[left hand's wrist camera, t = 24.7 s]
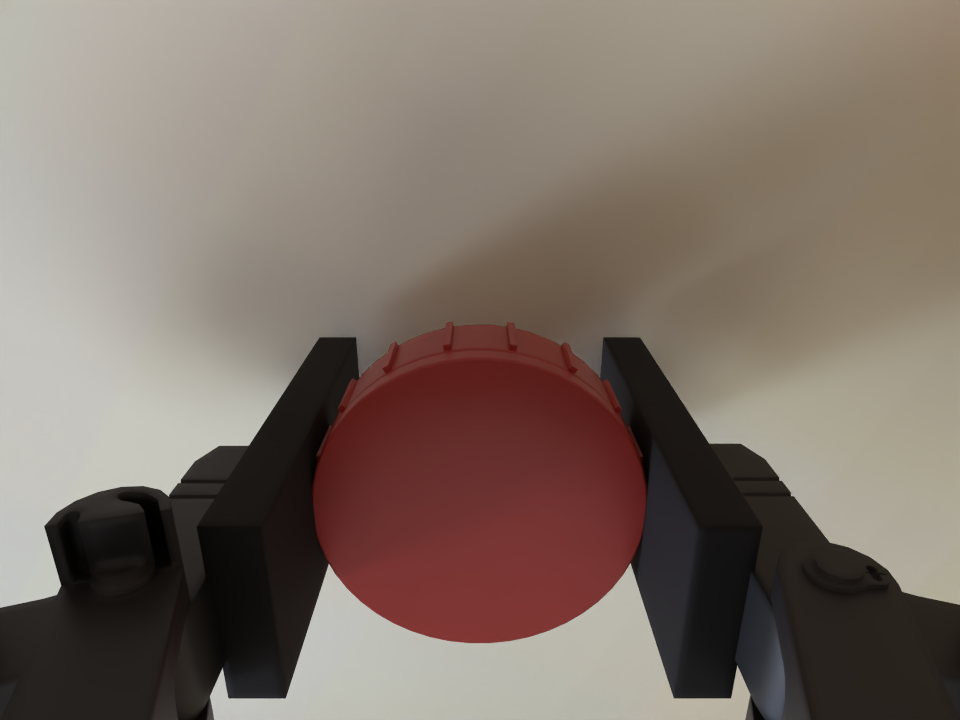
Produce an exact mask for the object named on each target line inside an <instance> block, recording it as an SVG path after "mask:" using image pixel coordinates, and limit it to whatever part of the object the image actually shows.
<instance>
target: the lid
mask: <svg viewBox="0 0 960 720" xmlns="http://www.w3.org/2000/svg"><path fill="white" fill-rule="evenodd" d="M337 410H339V412H338V415H337V417H336V419H335V421H334V424H333V426H331V425H330V426H329V428H328V430H327V432H326V435H325V437H324V439H323V441H322V443H321V446H320V448H319V450H318V452H317V455H316V459H317V461H318V462H317V465H316V469H315V474H314V478H313V483H312V496H313V507H314V516H315V525H316V533H317V538H318V541H319V543H320V546H321V548H322V550H323V553H324V555H325V557H326V559H327V561H328V563H329V564H330V566H331V567H332V569H333V571H334V572H335V574H336V575H337V576H338V578H339V579H340V580H341V581H342V583H343V584H344V585H345V586H346V588H347V589H348V590H349V591H350V592H351V593H352V594H353V595H355V596H356V597H357V598H358V599H359V600H360V601H361V602H362V603H363V604H365V605H366V606H367V607H369V608H370V609H371V610H373V611H374V612H375V613H377V614H379V615H380V616H382V617H384V618H385V619H387V620H389V621H391V622H392V623H394V624H397V625H399V626H401V627H403V628H406V629H408V630H410V631H413V632H416V633H419V634H422V635H426V636H429V637H433V638H438V639H442V640H447V641H454V642H464V643H495V642H505V641H512V640H517V639H522V638H526V637H530V636H534V635H537V634H540V633H543V632H546V631H549V630H551V629H553V628H556V627H558V626H560V625H563V624H565V623H567V622H568V621H570V620H572V619H574V618H575V617H577V616H579V615H581V614H582V613H584V612H585V611H586V610H588V609H589V608H590V607H592V606H593V605H594V604H596V603H597V602H598V601H599V600H600V599H601V598H603V597H604V596H605V595H606V594H607V593H608V592H609V591H610V590H611V589H612V588H613V587H614V585H615V584H616V583H617V582H618V580H619V579H620V578H621V577H622V575H623V574H624V573H625V571H626V569H627V568H628V566H629V564H630V563H631V561H632V559H633V558H634V555H635V553H636V551H637V548H638V546H639V544H640V541H641V538H642V534H643V529H644V521H645V512H646V502H647V483H646V478H645V473H644V468H643V465H642V462H643V454H642V452H641V450H640V448H639V446H638V443H637V441H636V439H635V437H634V434H633V432H632V430H631V428H630V426H628V427H627V426H626V423H625V421H624V419H623V417H622V414H621V411H622V409H621V406H620V404H619V402H618V400H617V397H616V395H615V393H614V391H613V388H612V386H611V384H610V382H609V381H608V380H607V379H606V380H605V381H603V382H602V380H601V379H600V378H599V376H598V375H597V374H596V373H595V372H594V371H593V370H592V369H591V368H590V367H589V366H588V365H587V364H586V363H585V362H584V361H582V360H581V359H580V358H578V357H577V356H576V355H574V354H573V353H572V351H571V348H570V346H569V345H568V344H567V343H565V342H564V343H563V345H562V346H560V345H558V344H556V343H555V342H553V341H551V340H549V339H546V338H544V337H541V336H539V335H536V334H534V333H531V332H527V331H523V330H519V329H515V327H514V323H510V322H508V323H507V327H504V326H496V325H464V326H456V327H454V326H453V322H449V323H446V328H444V329H440V330H436V331H432V332H428V333H425V334H423V335H420V336H418V337H415V338H413V339H410V340H408V341H406V342H404V343H403V344H401V345H398V344H397V342H394V343H392V344H391V345H390V348H389V351H388V353H386V354H385V355H384V356H382V357H381V358H380V359H378V360H377V361H376V362H374V363H373V364H372V365H371V366H370V367H369V368H368V369H367V370H366V371H365V372H364V373H363V374H362V375H361V376H360V378H359V379H358V380H357V381H356V380H355V379H352V380H351V381H350V383H349V385H348V387H347V389H346V391H345V394H344V396H343V398H342V400H341V403H340V405H339V407H338V409H337Z"/></svg>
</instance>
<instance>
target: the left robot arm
mask: <svg viewBox="0 0 960 720" xmlns="http://www.w3.org/2000/svg"><path fill="white" fill-rule="evenodd" d="M352 379H355V380H356V381H357V380H358V379H359V371H358V358H357V344H356V338H319V339H318V341H317V342H316V344H315V346H314V347H313V349H312V350H311V352H310V353H309V355H308V356H307V358H306V359H305V361H304V362H303V364H302V365H301V367H300V369H299V370H298V372H297V373H296V375H295V376H294V378H293V379H292V381H291V382H290V384H289V385H288V387H287V388H286V390H285V392H284V393H283V395H282V396H281V398H280V399H279V401H278V402H277V404H276V405H275V407H274V408H273V410H272V411H271V413H270V415H269V416H268V418H267V419H266V421H265V422H264V424H263V425H262V427H261V428H260V430H259V431H258V433H257V434H256V436H255V438H254V439H253V441H252V442H251V444H250V445H249V446H218V447H217V448H215V449H214V450H212V451H211V452H209V453H208V454H206V455H204V456H203V457H201V458H200V459H198V460H197V461H195V462H194V464H193V465H192V466H191V467H190V469H189V470H188V471H187V473H186V474H185V475H184V476H183V478H182V479H181V483H178V484H177V486H176V487H175V488H174V489H173V491H172V492H171V493H170V495H169V497H168V496H167V495H166V494H165V493H163V492H162V491H161V490H158V489H154V488H149V487H144V486H136V487H120V488H115V489H110V490H106V491H101V492H97V493H95V494H92V495H90V496H87V497H85V498H82V499H79V500H77V501H75V502H73V503H72V504H70V505H68V506H67V507H65V508H64V509H62V510H60V511H59V512H57V513H56V514H55V515H54V516H53V517H52V518H51V520H50V521H49V522H48V523H47V524H46V525H45V526H44V527H45V530H46V534H47V537H48V541H49V544H50V548H51V551H52V554H53V558H54V561H55V565H56V568H57V572H58V575H59V579H60V582H61V588H60V590H59V592H58V594H57V595H56V596H52V597H48V598H45V599H41V600H36V601H31V602H26V603H22V604H17V605H12V606H7V607H2V608H0V720H214V717H213V710H212V705H211V700H210V695H211V692H212V690H213V688H214V686H215V683H216V681H217V679H218V677H219V674H220V672H221V670H222V668H223V671H224V676H225V682H226V687H227V692H228V698H286V696H287V692H288V689H289V686H290V683H291V680H292V677H293V674H294V671H295V667H296V664H297V661H298V658H299V655H300V652H301V649H302V646H303V642H304V639H305V636H306V633H307V630H308V627H309V624H310V621H311V617H312V614H313V611H314V608H315V605H316V602H317V599H318V596H319V592H320V589H321V586H322V583H323V580H324V577H325V574H326V571H327V567H328V564H329V563H328V561H327V559H326V557H325V555H324V553H323V550H322V548H321V546H320V543H319V541H318V538H317V533H316V525H315V516H314V507H313V496H312V483H313V478H314V474H315V469H316V465H317V462H318V461H317V459H316V455H317V452H318V450H319V448H320V446H321V443H322V441H323V439H324V437H325V435H326V432H327V430H328V428H329V426H330V425H331V426H333V424H334V421H335V419H336V417H337V415H338V412H339V410H337V409H338V407H339V405H340V403H341V400H342V398H343V396H344V394H345V391H346V389H347V387H348V385H349V383H350V381H351V380H352ZM606 379H607V380H608V381H609V382H610V384H611V386H612V388H613V391H614V393H615V395H616V397H617V400H618V402H619V404H620V406H621V409H622V411H621V414H622V417H623V419H624V421H625V423H626V426H627V427H628V426H630V428H631V430H632V432H633V434H634V437H635V439H636V441H637V443H638V446H639V448H640V450H641V452H642V454H643V462H642V465H643V468H644V473H645V478H646V483H647V502H646V512H645V521H644V529H643V534H642V538H641V541H640V544H639V546H638V548H637V551H636V553H635V555H634V558H633V559H632V561H631V566H632V569H633V572H634V575H635V578H636V581H637V584H638V587H639V591H640V594H641V597H642V600H643V603H644V606H645V609H646V612H647V616H648V619H649V622H650V625H651V628H652V631H653V634H654V637H655V641H656V644H657V647H658V650H659V653H660V656H661V659H662V662H663V666H664V669H665V672H666V675H667V678H668V681H669V684H670V687H671V691H672V694H673V697H674V698H731V696H732V690H733V685H734V679H735V674H736V669H737V665H738V667H739V670H740V672H741V674H742V676H743V679H744V681H745V683H746V685H747V687H748V690H749V692H750V694H751V695H750V700H749V705H748V710H747V715H746V720H960V605H957V604H953V603H948V602H943V601H938V600H933V599H929V598H924V597H919V596H915V595H911V594H908V593H904V592H902V591H901V589H900V586H899V584H898V583H897V582H896V580H895V579H894V578H893V577H892V575H891V574H890V573H889V571H888V570H887V569H885V568H884V567H883V566H881V565H880V564H879V563H877V562H876V561H874V560H873V559H872V558H870V557H868V556H866V555H864V554H862V553H860V552H857V551H855V550H853V549H851V548H849V547H845V546H841V545H837V544H833V543H830V542H829V541H828V540H827V539H826V537H825V536H824V535H823V533H822V532H821V531H820V530H819V528H818V527H817V526H816V524H815V523H814V522H813V521H812V519H811V518H810V517H809V515H808V514H807V513H806V512H805V510H804V509H803V508H802V506H801V505H800V504H799V503H798V501H797V500H796V499H795V497H794V496H791V492H790V491H789V490H788V488H787V487H786V486H785V484H784V483H783V482H782V481H779V477H778V475H777V474H776V473H775V472H774V470H773V469H772V468H771V466H770V465H769V464H768V463H767V461H766V460H765V459H764V458H762V457H761V456H759V455H757V454H756V453H754V452H753V451H751V450H750V449H748V448H746V447H745V446H743V445H742V444H709V443H708V441H707V440H706V438H705V437H704V435H703V434H702V432H701V431H700V429H699V427H698V426H697V424H696V423H695V421H694V420H693V418H692V417H691V415H690V414H689V412H688V411H687V409H686V408H685V406H684V404H683V403H682V401H681V400H680V398H679V397H678V395H677V394H676V392H675V391H674V389H673V388H672V386H671V385H670V383H669V381H668V380H667V378H666V377H665V375H664V374H663V372H662V371H661V369H660V368H659V366H658V365H657V363H656V362H655V360H654V358H653V357H652V355H651V354H650V352H649V351H648V349H647V348H646V346H645V345H644V343H643V342H642V340H641V339H640V338H603V352H602V366H601V380H602V382H603V381H605V380H606Z"/></svg>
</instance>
